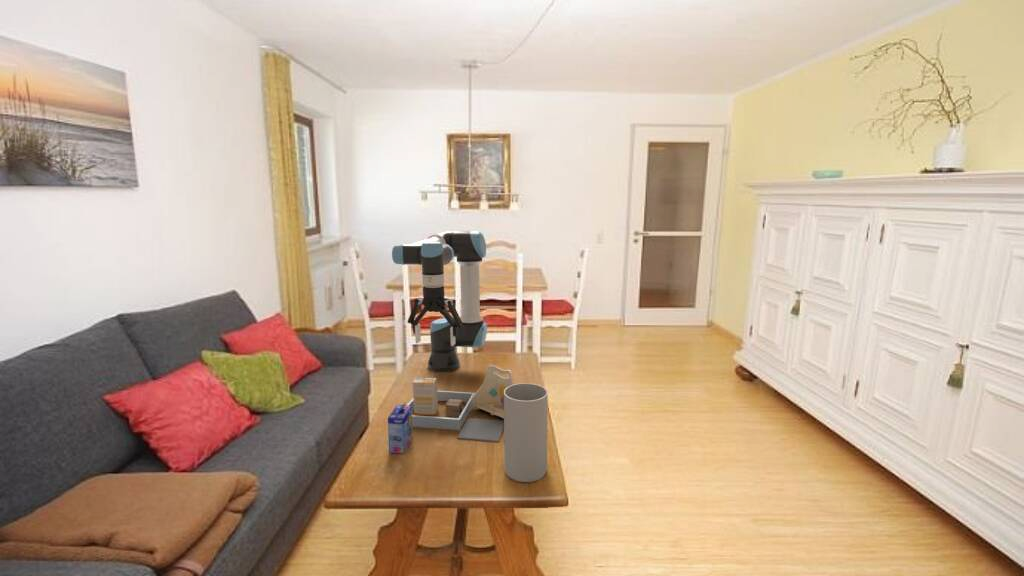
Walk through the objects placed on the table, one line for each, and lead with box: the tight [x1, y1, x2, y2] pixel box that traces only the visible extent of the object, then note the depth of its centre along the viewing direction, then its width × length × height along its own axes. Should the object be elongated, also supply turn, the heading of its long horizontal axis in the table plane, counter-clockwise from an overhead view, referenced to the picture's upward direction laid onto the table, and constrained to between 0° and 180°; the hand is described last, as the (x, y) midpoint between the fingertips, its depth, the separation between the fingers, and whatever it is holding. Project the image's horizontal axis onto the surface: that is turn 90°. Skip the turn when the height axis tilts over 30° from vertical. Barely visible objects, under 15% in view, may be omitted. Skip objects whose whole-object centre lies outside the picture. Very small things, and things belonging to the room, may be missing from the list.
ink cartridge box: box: [387, 402, 413, 454], centre depth 150 cm, size 10×6×14 cm, turn 177°
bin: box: [406, 390, 476, 431], centre depth 174 cm, size 23×23×4 cm
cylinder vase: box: [503, 382, 549, 483], centre depth 135 cm, size 12×12×25 cm
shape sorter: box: [472, 364, 514, 419], centre depth 172 cm, size 20×10×18 cm, turn 47°
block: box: [445, 399, 464, 418], centre depth 173 cm, size 5×5×5 cm
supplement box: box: [412, 377, 439, 416], centre depth 173 cm, size 8×5×13 cm, turn 84°
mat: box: [457, 417, 504, 443], centre depth 161 cm, size 14×14×1 cm
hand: (435, 343), depth 167 cm, fingers open, 13 cm apart
